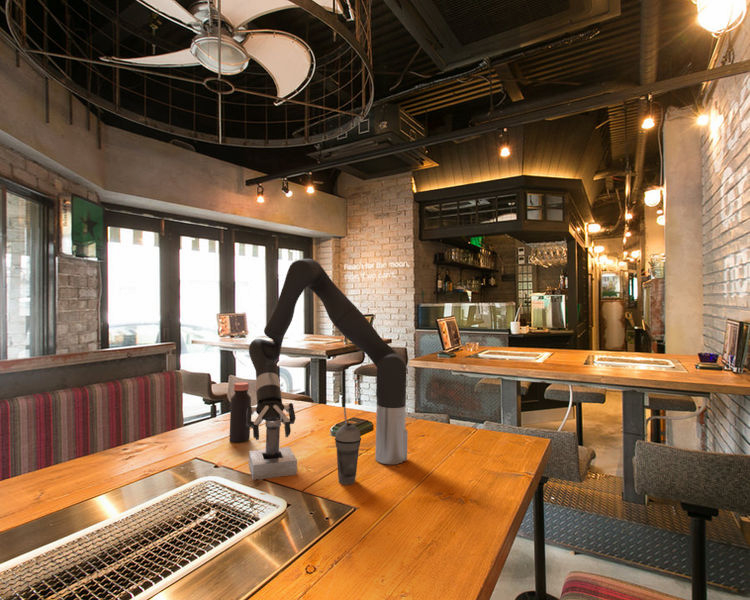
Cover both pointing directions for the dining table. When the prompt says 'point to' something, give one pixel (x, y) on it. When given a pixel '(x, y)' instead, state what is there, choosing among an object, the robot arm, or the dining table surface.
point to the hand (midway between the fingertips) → (272, 437)
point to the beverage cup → (347, 452)
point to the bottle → (239, 413)
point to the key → (272, 438)
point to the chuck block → (272, 464)
